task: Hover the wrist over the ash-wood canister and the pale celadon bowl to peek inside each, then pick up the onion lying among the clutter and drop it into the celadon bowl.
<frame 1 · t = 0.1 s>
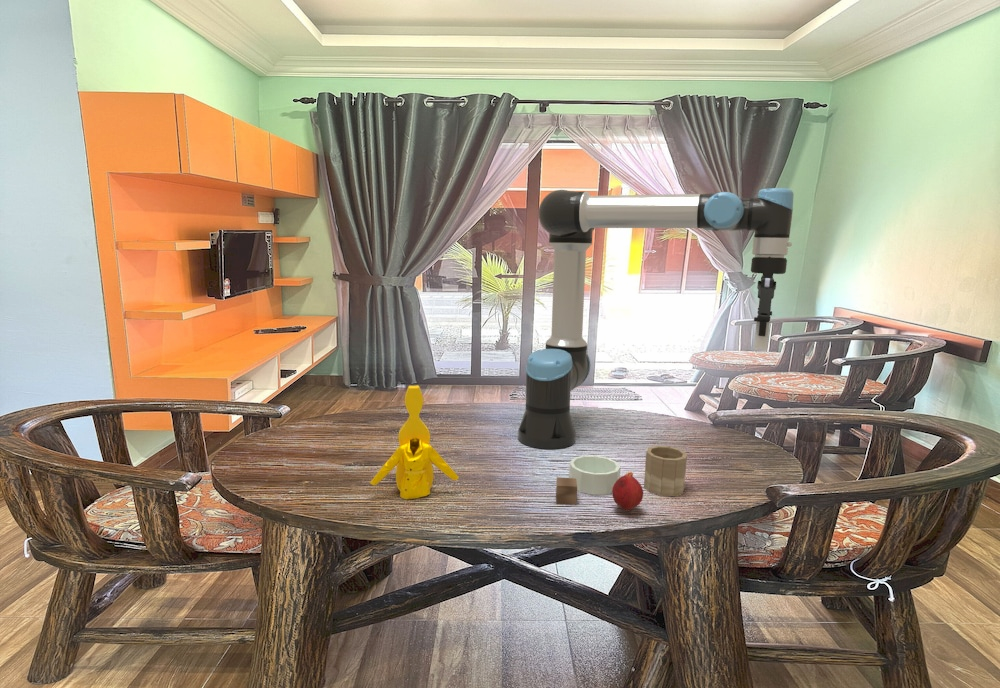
hand: (760, 345, 135), 28 cm above the table, fingers open, 13 cm apart
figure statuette: (414, 493, 115), on the table
walnut block: (566, 500, 113), on the table
teacup and saucer: (400, 453, 137), on the table
canister: (663, 488, 119), on the table
bowl: (593, 484, 120), on the table
onion: (626, 511, 109), on the table
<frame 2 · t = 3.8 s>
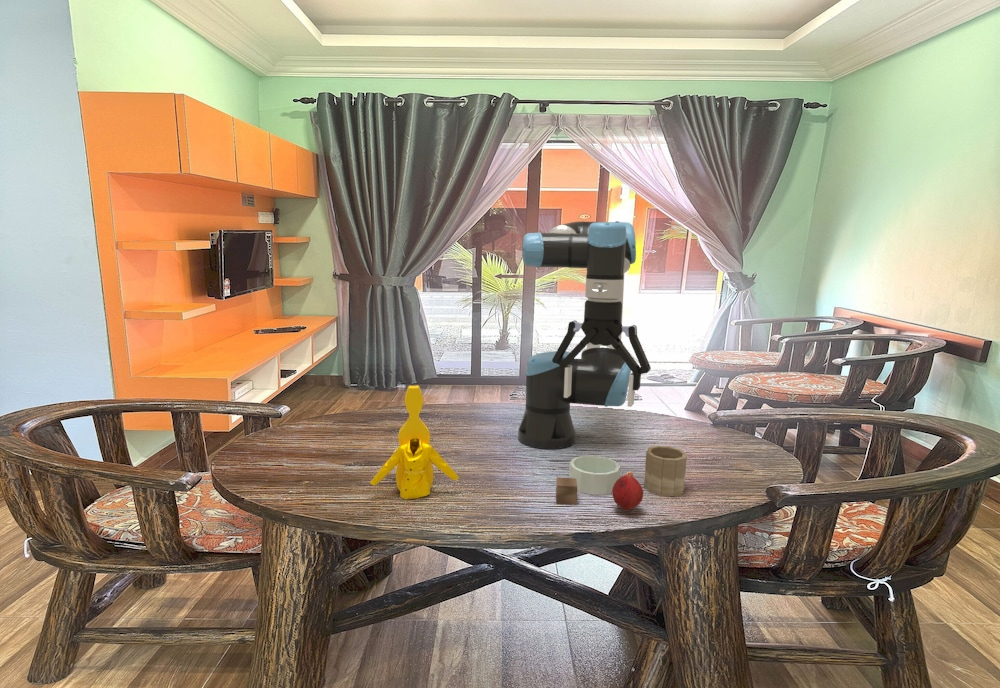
hand: (598, 400, 117), 19 cm above the table, fingers open, 13 cm apart
nothing on the table moved.
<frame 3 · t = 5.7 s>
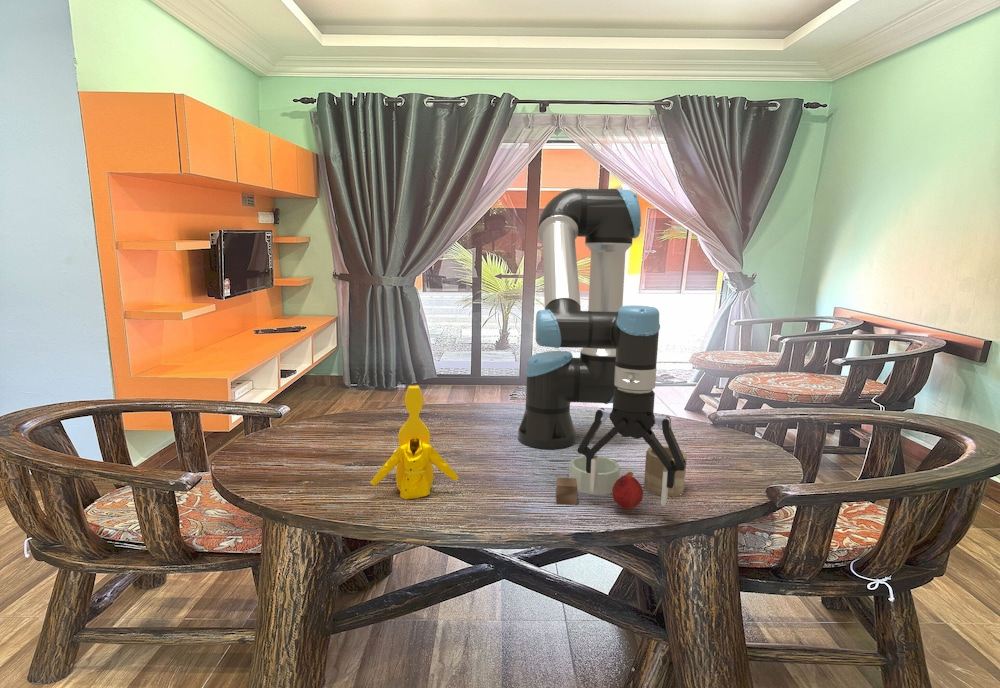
hand: (627, 495, 107), 3 cm above the table, fingers open, 13 cm apart
nothing on the table moved.
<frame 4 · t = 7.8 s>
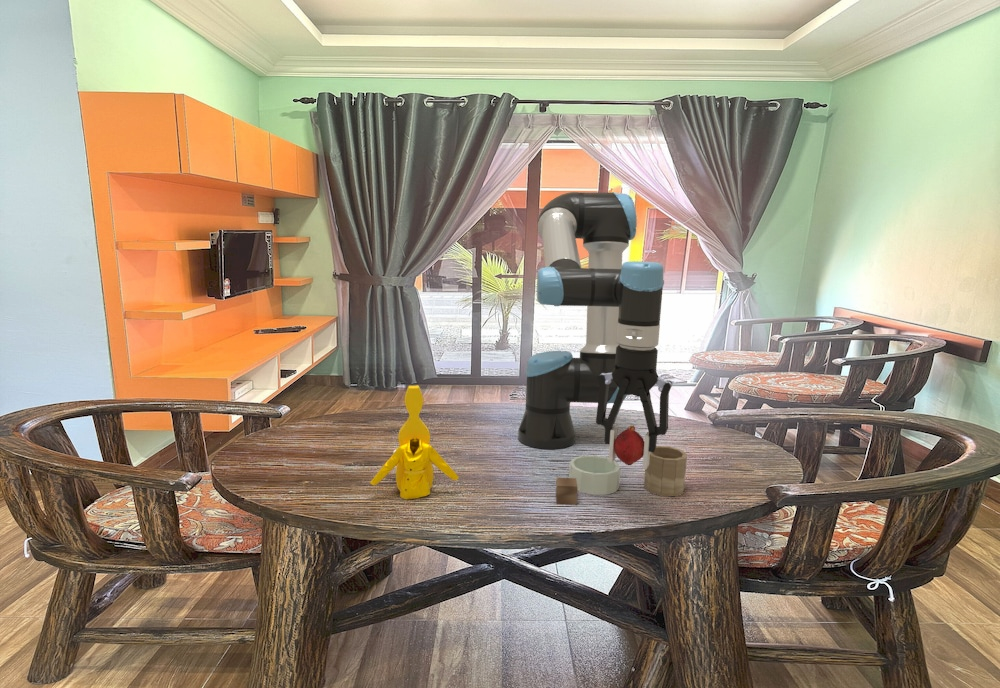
hand: (628, 463, 107), 10 cm above the table, fingers closed on onion, 6 cm apart
onion: (628, 466, 107), point 9 cm above the table, touching gripper
everything else where it was.
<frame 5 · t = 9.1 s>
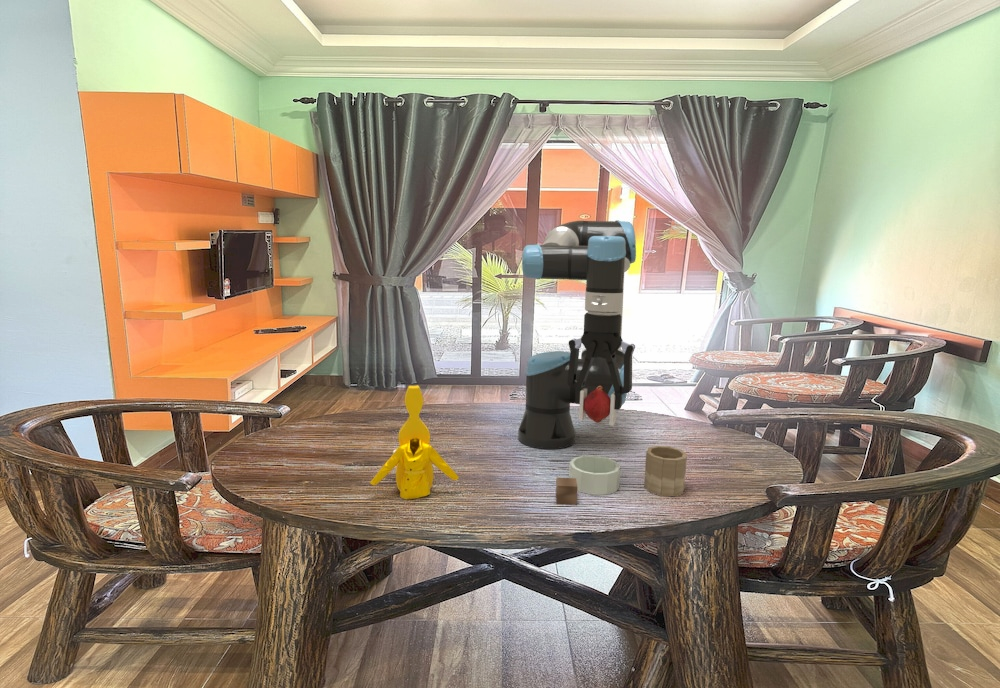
hand: (597, 421, 118), 14 cm above the table, fingers closed on onion, 6 cm apart
onion: (596, 423, 118), point 14 cm above the table, touching gripper
everything else where it was.
when the fingers open (6 cm above the table, at t = 10.9 s): onion drops 5 cm, resting on bowl.
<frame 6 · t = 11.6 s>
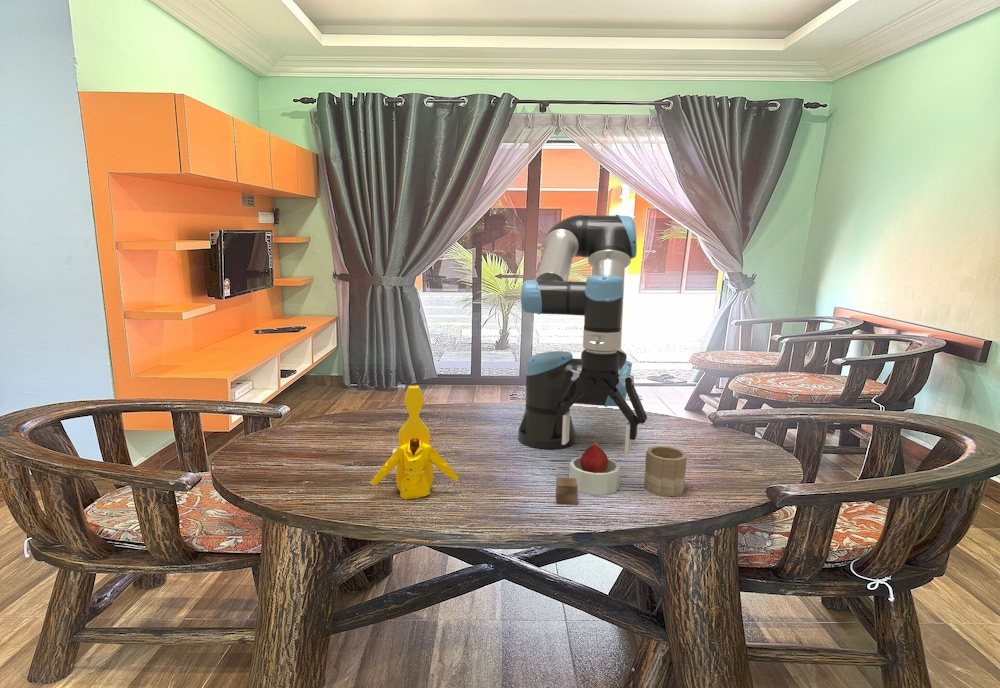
hand: (595, 448, 119), 8 cm above the table, fingers open, 13 cm apart
onion: (593, 480, 120), point 1 cm above the table, touching bowl
everything else where it was.
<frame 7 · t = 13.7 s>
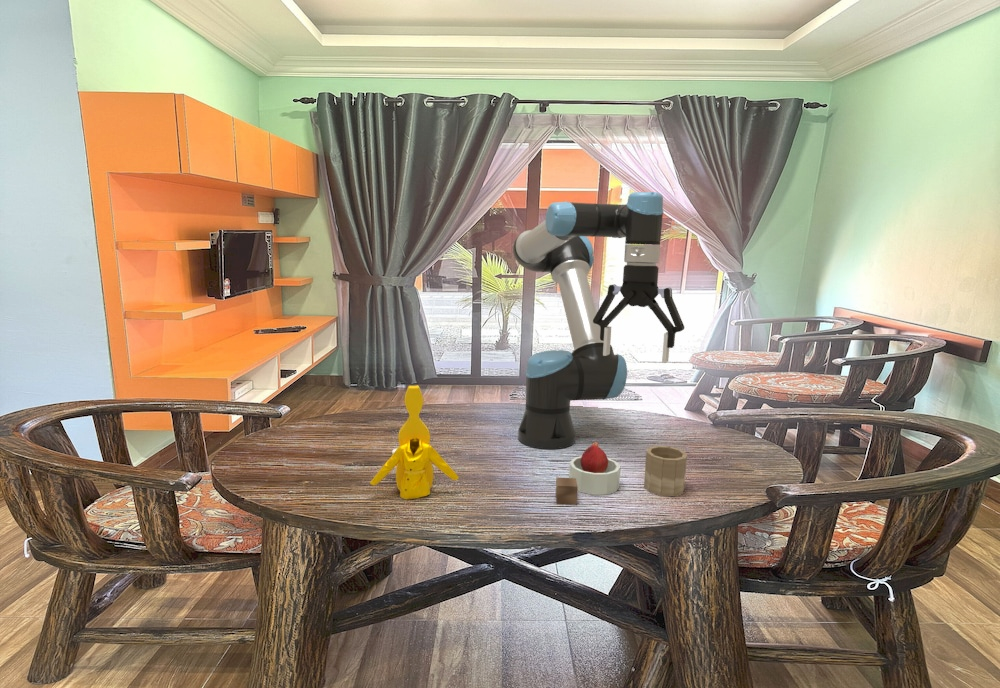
hand: (634, 358, 127), 26 cm above the table, fingers open, 13 cm apart
nothing on the table moved.
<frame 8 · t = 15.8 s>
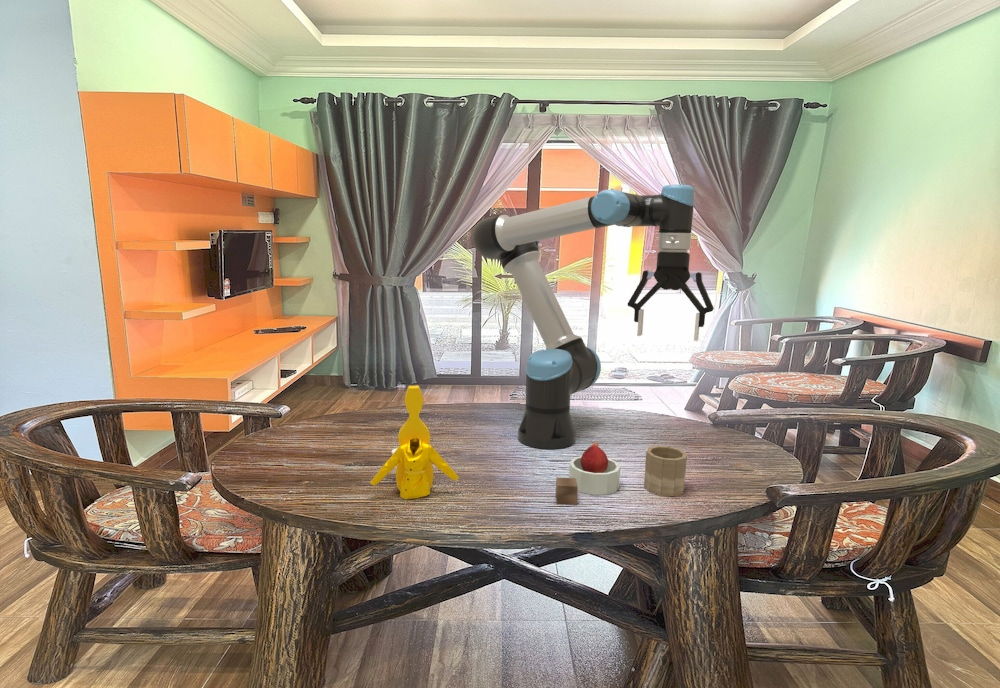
hand: (667, 337, 138), 29 cm above the table, fingers open, 13 cm apart
nothing on the table moved.
at the end: onion inside the target area on the bowl (0.2 cm from its centre), point 0.9 cm above the bowl's base; the gripper is holding nothing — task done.
